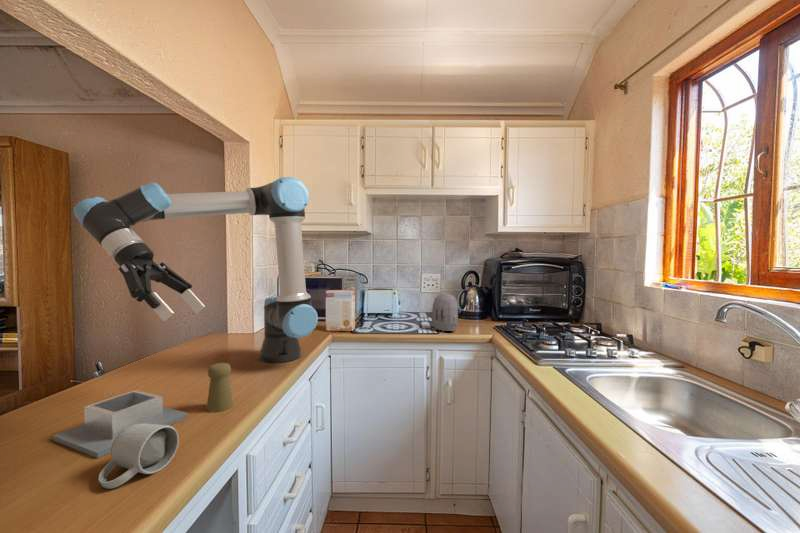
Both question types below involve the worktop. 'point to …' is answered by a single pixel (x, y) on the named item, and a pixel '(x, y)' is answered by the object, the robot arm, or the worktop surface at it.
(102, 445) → the base plate
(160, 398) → the metal collar
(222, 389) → the cork
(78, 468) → the worktop surface
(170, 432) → the ceramic mug
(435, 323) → the small grey backpack
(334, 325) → the cracker box
